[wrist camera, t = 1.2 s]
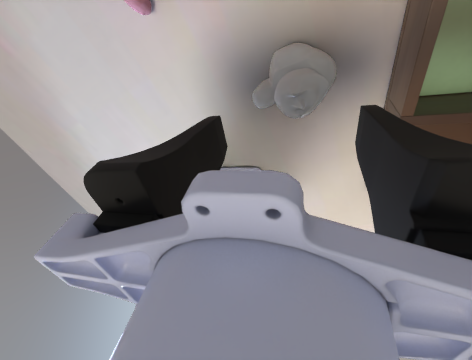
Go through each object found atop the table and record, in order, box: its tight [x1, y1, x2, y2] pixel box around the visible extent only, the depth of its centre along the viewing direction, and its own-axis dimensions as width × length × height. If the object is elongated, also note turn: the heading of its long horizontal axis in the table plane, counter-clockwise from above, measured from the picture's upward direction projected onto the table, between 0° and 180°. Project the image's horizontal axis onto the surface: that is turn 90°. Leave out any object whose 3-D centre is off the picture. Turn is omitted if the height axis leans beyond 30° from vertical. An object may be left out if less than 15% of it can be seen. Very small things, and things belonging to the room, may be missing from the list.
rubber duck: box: [252, 43, 337, 118], centre depth 18 cm, size 5×7×8 cm
